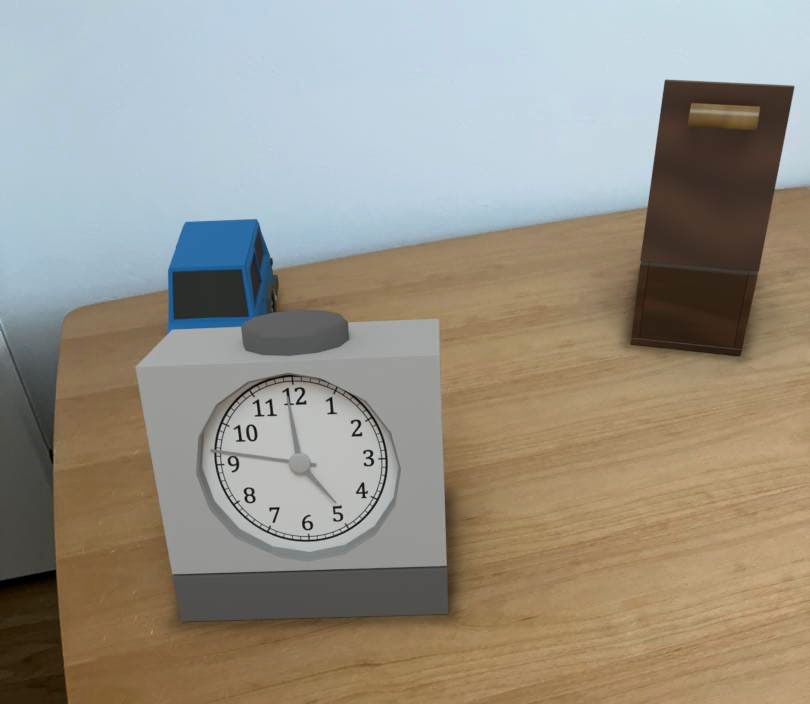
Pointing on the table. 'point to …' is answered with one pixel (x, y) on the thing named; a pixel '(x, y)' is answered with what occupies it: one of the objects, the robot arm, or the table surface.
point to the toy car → (220, 275)
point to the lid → (715, 173)
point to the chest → (692, 307)
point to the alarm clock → (300, 466)
